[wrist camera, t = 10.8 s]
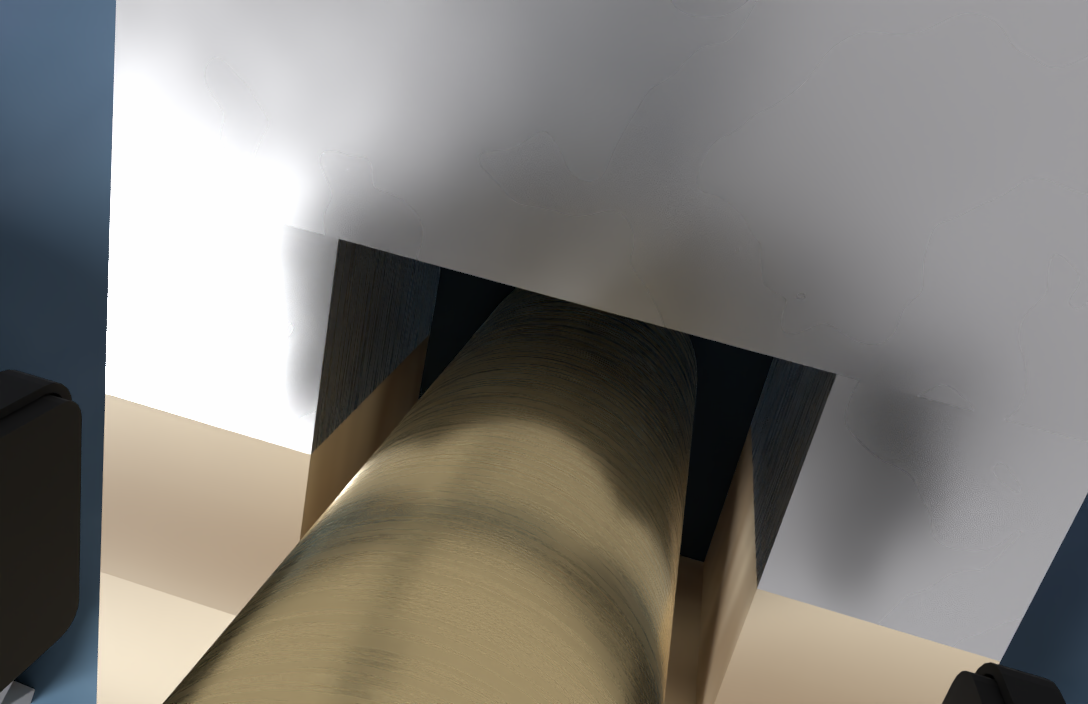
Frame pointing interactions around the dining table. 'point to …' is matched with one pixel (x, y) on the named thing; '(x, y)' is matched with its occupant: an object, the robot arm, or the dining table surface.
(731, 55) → the gray notched block
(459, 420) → the brass pin
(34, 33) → the dining table surface
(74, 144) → the dining table surface
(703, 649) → the notched wooden block
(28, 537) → the robot arm
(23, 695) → the white black arched block
